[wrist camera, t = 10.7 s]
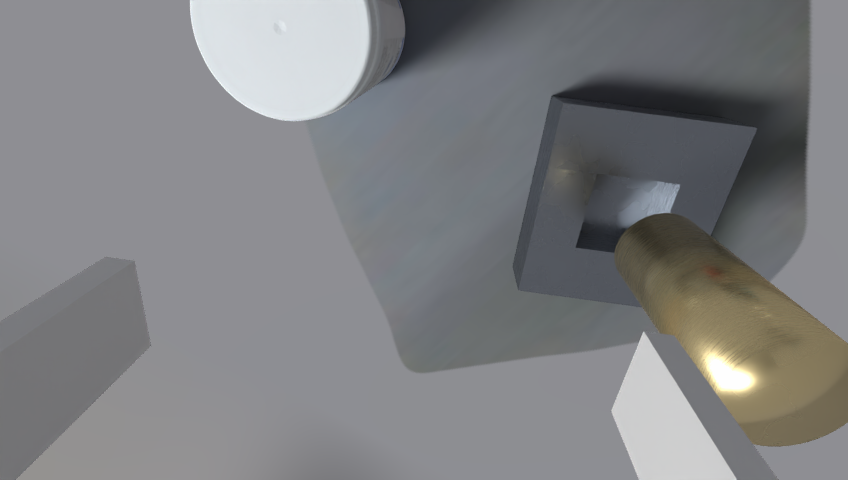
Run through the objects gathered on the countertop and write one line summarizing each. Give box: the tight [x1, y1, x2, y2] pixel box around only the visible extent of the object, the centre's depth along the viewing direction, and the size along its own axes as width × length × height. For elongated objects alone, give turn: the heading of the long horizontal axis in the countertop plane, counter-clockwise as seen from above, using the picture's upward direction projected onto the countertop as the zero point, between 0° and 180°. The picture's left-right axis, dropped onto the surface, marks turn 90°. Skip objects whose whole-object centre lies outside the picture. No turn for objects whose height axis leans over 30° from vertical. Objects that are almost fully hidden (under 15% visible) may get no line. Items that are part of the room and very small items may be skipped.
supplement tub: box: [190, 0, 405, 121], centre depth 28 cm, size 10×10×15 cm
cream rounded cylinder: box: [614, 213, 848, 446], centre depth 23 cm, size 6×6×13 cm
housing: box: [513, 96, 757, 307], centre depth 37 cm, size 16×14×4 cm
